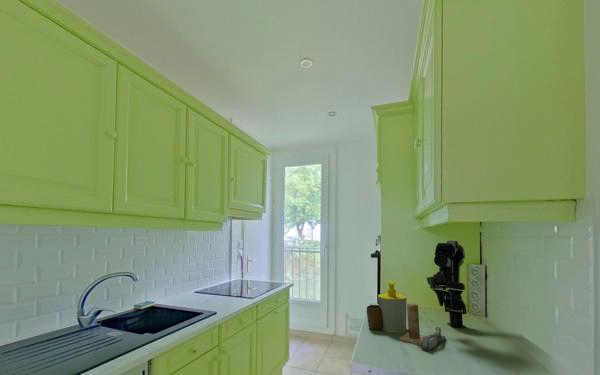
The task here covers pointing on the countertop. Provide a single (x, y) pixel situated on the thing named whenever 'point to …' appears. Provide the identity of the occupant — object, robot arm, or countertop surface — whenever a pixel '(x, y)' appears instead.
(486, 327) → the countertop surface
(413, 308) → the tan wooden cylinder
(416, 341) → the terracotta tile
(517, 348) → the countertop surface
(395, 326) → the soap bottle
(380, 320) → the mug
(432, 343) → the gray metal frame
